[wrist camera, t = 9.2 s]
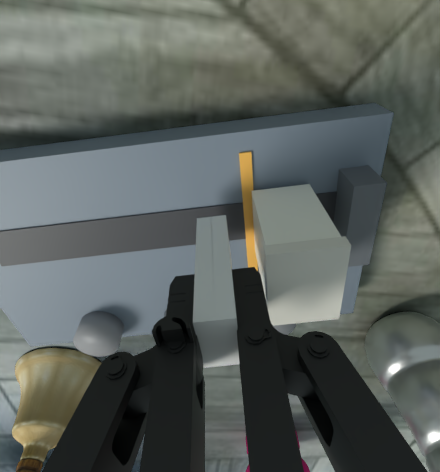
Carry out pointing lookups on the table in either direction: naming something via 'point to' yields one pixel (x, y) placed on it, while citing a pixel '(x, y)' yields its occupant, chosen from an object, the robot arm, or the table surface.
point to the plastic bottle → (410, 374)
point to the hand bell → (48, 399)
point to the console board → (168, 214)
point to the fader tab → (298, 255)
